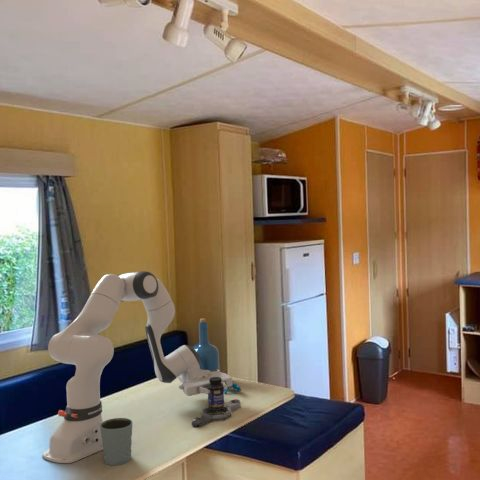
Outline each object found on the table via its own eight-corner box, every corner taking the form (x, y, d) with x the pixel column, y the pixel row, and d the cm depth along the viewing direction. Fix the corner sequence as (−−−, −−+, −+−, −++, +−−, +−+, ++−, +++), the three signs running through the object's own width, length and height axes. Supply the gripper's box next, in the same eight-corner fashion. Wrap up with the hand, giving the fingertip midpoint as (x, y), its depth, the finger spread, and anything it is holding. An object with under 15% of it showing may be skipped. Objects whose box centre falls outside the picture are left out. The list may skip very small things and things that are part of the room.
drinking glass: (96, 460, 183) (94, 424, 182) (123, 449, 190) (120, 415, 189) (113, 469, 175) (111, 431, 175) (140, 458, 183) (138, 422, 182)
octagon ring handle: (204, 430, 203) (204, 423, 203) (183, 424, 210) (182, 417, 210) (248, 408, 224) (248, 401, 224) (228, 403, 231) (227, 397, 230)
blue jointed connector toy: (245, 389, 242) (229, 376, 239) (238, 401, 240) (221, 388, 237) (233, 386, 252) (218, 373, 249) (226, 398, 249) (210, 385, 246)
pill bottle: (215, 410, 213) (213, 382, 212) (205, 406, 217) (204, 378, 216) (227, 406, 217) (226, 378, 216) (217, 402, 221) (216, 375, 220)
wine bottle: (226, 381, 261) (223, 317, 259) (207, 389, 250) (204, 322, 249) (204, 377, 269) (201, 315, 267) (185, 384, 259) (181, 320, 257)
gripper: (176, 378, 222) (192, 387, 210) (221, 368, 233) (239, 376, 221) (177, 394, 222) (193, 403, 211) (222, 383, 233) (239, 392, 221)
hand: (217, 389), depth 216 cm, fingers closed on pill bottle, 6 cm apart
